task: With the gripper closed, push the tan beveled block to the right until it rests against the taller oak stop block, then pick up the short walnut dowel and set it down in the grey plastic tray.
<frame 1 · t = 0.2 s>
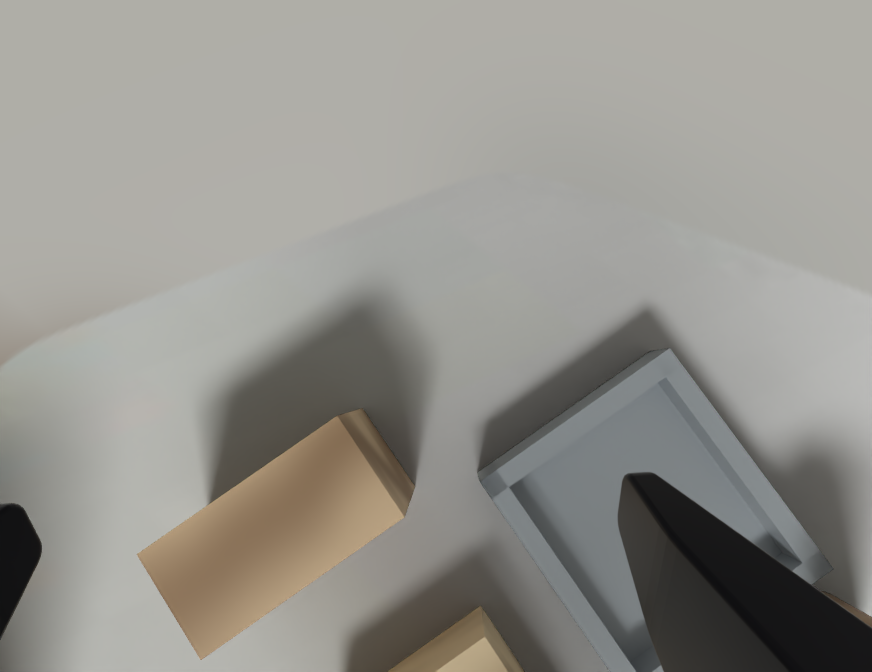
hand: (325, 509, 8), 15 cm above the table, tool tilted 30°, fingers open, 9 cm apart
stop block: (310, 501, 22), on the table
tray: (635, 511, 22), on the table
dowel: (814, 636, 21), on the table
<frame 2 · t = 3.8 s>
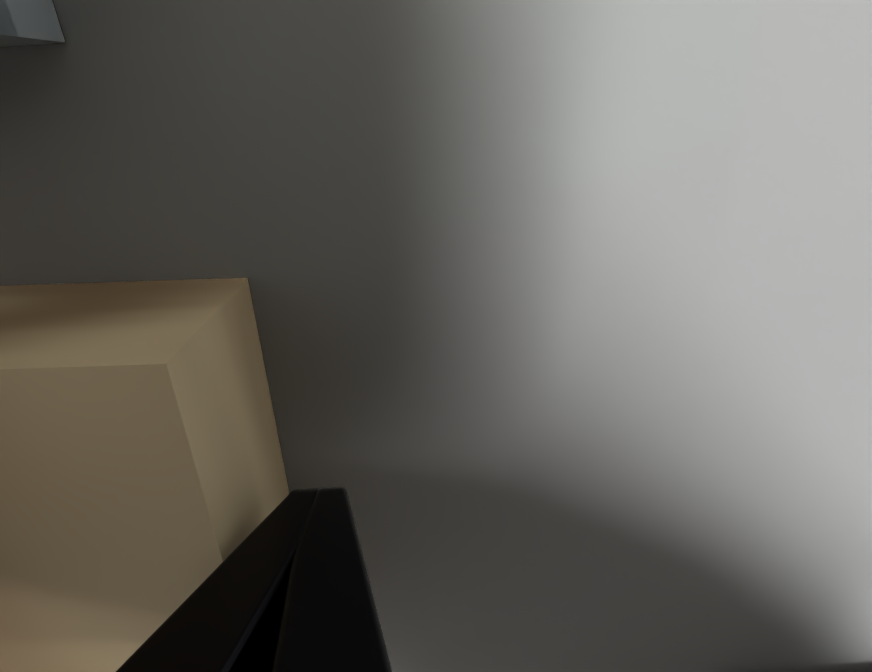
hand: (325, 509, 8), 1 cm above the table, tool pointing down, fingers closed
tan beveled block: (96, 460, 10), on the table, touching gripper
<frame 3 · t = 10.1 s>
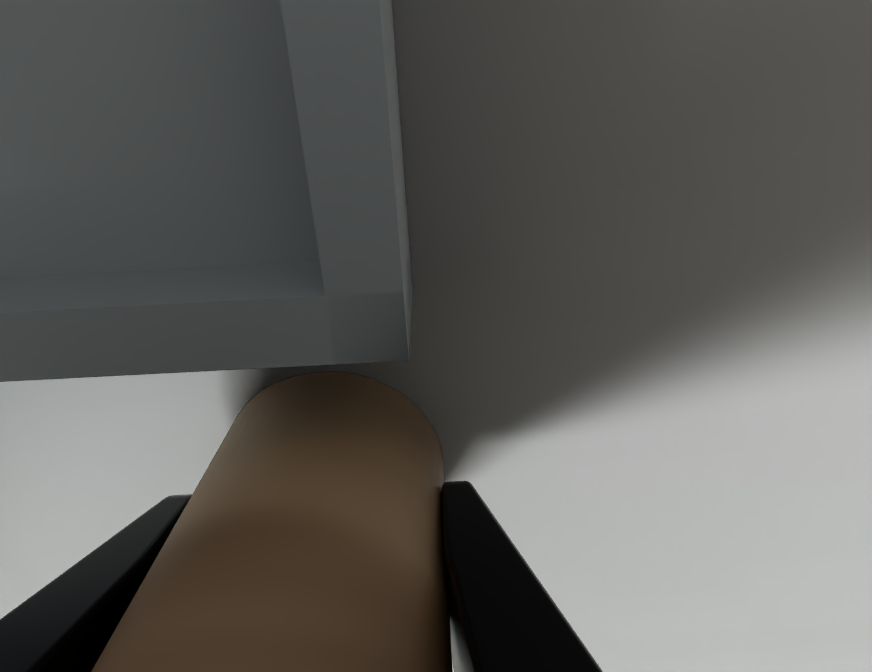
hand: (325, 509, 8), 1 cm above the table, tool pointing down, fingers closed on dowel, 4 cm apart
dowel: (336, 465, 9), on the table, touching gripper
when the fingers open (3 cm above the table, at t = 13.4 s): dowel drops 2 cm, resting on tray.
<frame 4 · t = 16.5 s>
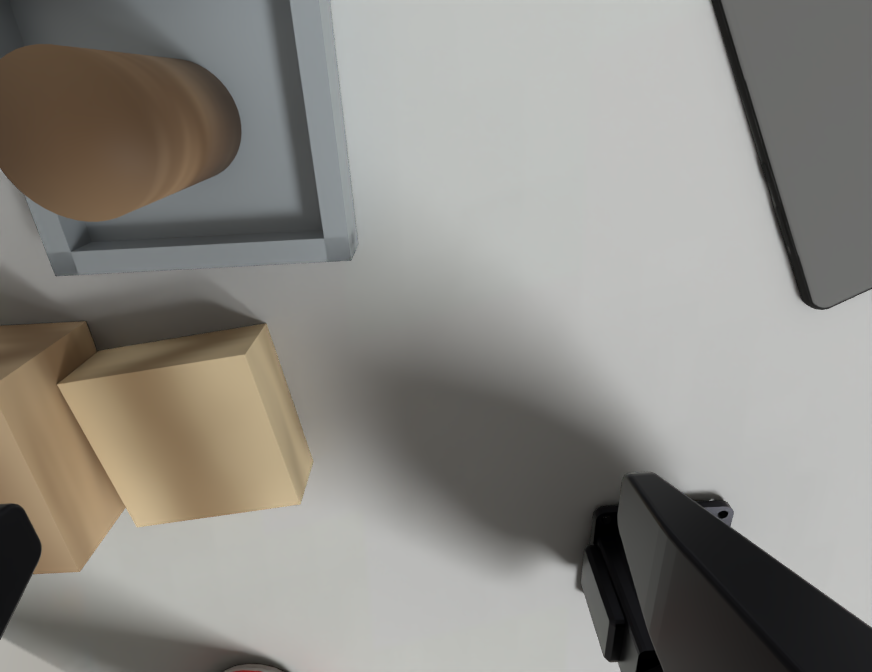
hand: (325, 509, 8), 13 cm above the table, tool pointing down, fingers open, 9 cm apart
stop block: (70, 409, 22), on the table
tray: (193, 120, 17), on the table
dowel: (184, 122, 17), point 1 cm above the table, touching tray
smartphone: (842, 84, 18), on the table
tan beveled block: (215, 405, 23), on the table
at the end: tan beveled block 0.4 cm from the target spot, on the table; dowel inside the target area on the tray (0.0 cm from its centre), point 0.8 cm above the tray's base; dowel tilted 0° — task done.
